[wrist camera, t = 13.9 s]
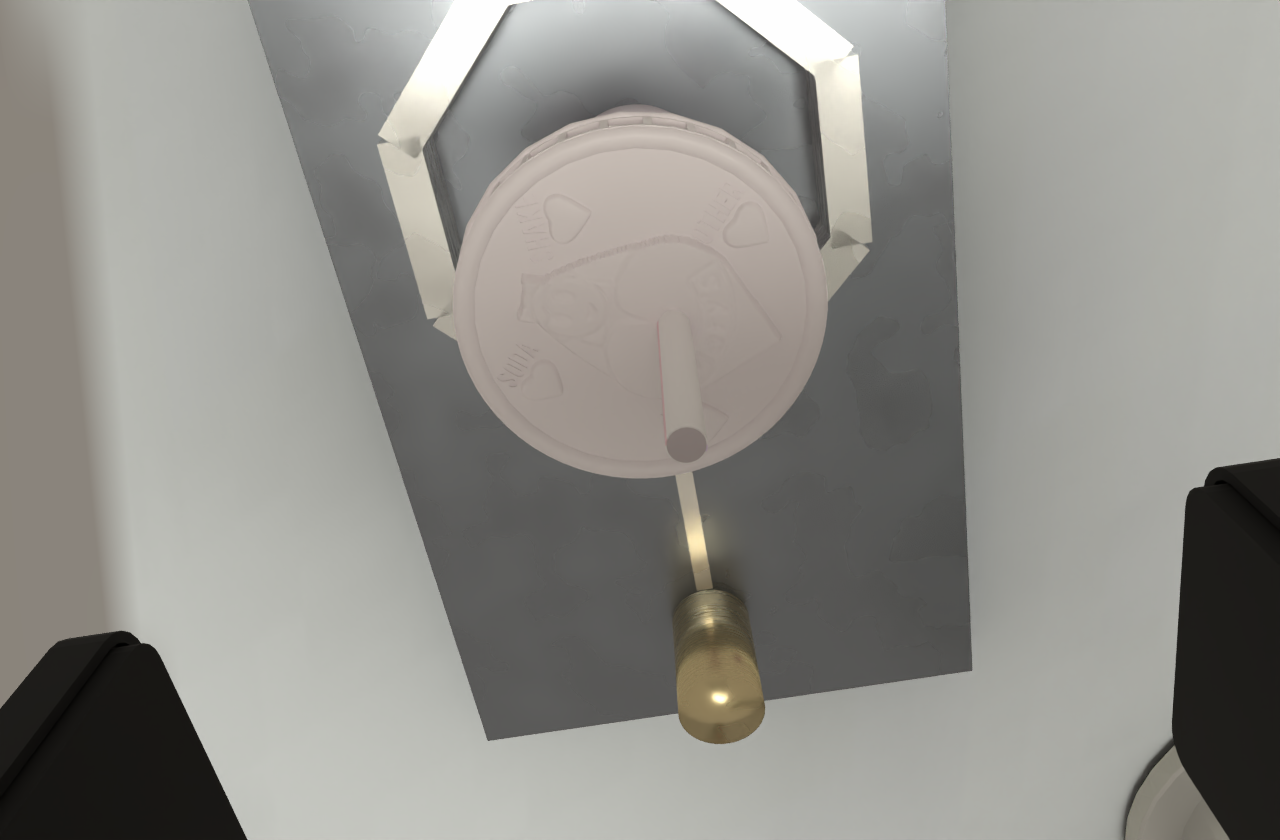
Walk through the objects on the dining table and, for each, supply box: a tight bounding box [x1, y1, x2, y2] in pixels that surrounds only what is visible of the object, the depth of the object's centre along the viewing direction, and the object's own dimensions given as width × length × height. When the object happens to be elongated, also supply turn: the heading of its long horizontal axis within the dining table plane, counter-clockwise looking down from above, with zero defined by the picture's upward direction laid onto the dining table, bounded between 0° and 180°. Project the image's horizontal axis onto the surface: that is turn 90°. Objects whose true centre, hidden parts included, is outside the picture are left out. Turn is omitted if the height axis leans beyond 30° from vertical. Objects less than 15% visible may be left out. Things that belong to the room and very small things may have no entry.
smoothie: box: [453, 104, 828, 478], centre depth 19 cm, size 6×6×14 cm
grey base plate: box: [248, 0, 972, 744], centre depth 27 cm, size 16×24×6 cm, turn 10°
